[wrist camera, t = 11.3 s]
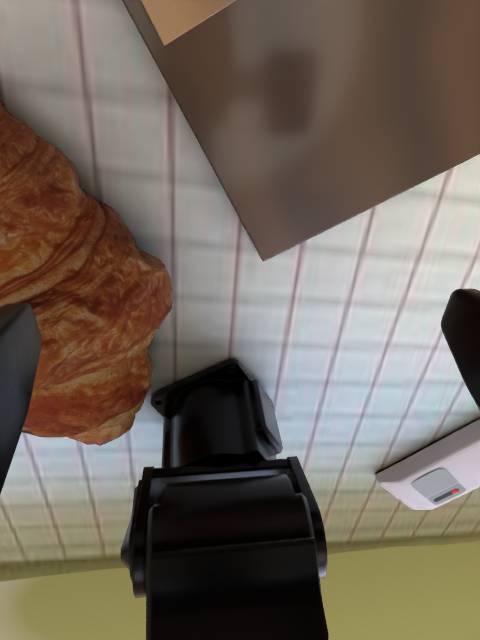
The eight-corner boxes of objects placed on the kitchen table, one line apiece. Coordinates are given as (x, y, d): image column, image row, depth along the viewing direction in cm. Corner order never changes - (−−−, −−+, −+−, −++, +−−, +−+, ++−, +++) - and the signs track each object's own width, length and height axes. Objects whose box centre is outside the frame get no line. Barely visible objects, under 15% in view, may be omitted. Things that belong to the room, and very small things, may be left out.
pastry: (264, 266, 23) (295, 363, 17) (117, 423, 29) (99, 539, 23) (-70, 27, 16) (-246, 38, 9) (-173, 306, 22) (-323, 429, 15)
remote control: (356, 483, 37) (368, 516, 35) (529, 389, 32) (558, 420, 30) (391, 509, 40) (405, 540, 38) (553, 428, 35) (581, 458, 33)
